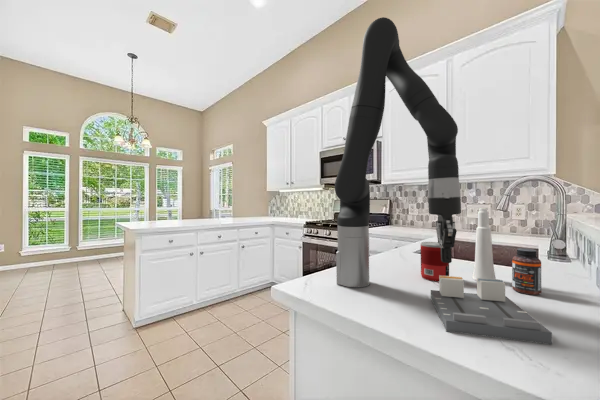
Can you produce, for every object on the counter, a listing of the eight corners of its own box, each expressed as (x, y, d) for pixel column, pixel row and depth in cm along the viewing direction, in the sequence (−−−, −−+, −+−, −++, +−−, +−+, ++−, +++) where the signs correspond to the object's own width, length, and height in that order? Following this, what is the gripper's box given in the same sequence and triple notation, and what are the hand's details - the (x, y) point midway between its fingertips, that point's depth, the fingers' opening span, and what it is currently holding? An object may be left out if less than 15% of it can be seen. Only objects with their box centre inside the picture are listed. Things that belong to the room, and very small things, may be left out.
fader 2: (481, 299, 60) (481, 280, 60) (476, 294, 63) (476, 277, 63) (505, 301, 59) (505, 282, 59) (499, 296, 61) (499, 278, 61)
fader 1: (441, 295, 62) (441, 278, 62) (439, 291, 65) (439, 274, 65) (464, 297, 61) (463, 279, 61) (460, 293, 64) (460, 276, 64)
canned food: (453, 282, 80) (452, 245, 80) (424, 281, 81) (423, 245, 81) (444, 275, 87) (444, 241, 87) (418, 274, 89) (418, 241, 89)
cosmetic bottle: (467, 277, 84) (466, 208, 85) (485, 276, 85) (484, 208, 85) (482, 283, 78) (481, 208, 79) (501, 282, 79) (500, 208, 79)
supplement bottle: (511, 292, 71) (510, 249, 71) (513, 286, 75) (512, 246, 75) (541, 297, 67) (540, 252, 67) (541, 291, 71) (541, 249, 71)
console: (446, 331, 50) (446, 314, 50) (430, 297, 67) (430, 285, 67) (552, 344, 45) (552, 325, 45) (506, 304, 62) (506, 291, 62)
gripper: (424, 197, 77) (426, 256, 77) (432, 196, 65) (435, 267, 65) (453, 196, 75) (456, 257, 75) (467, 195, 62) (470, 269, 62)
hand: (446, 262), depth 70 cm, fingers closed
